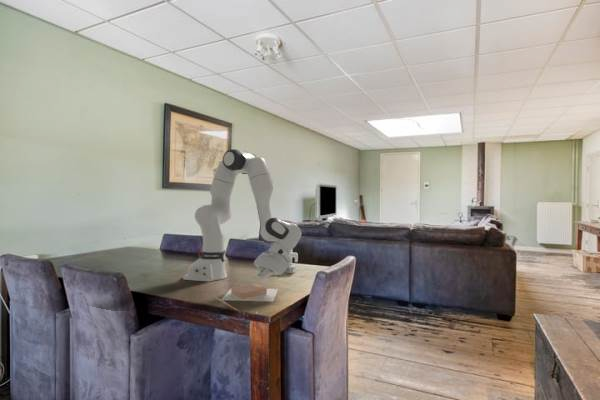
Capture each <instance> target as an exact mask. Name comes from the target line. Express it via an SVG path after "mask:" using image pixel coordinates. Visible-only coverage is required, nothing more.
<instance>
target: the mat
mask: <svg viewBox="0 0 600 400" xmlns="http://www.w3.org/2000/svg"><path fill="white" fill-rule="evenodd" d="M278 290H279V288H267V295H265V296H260V297H256V298H251V299H246V300H241V299H239V298H237V297H235V296H233V295H231V288H230V289H228V291H227V292H226V293H225V295H224V296H222V298H221V299H220V302H226V301H237V302H238V301H241V302H243V301H244V302H245V301H246V302H247V301H248V302H274V301H275V298H276V295H277V293H278Z"/></svg>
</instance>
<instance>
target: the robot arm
mask: <svg viewBox="0 0 600 400" xmlns="http://www.w3.org/2000/svg"><path fill="white" fill-rule="evenodd" d="M239 174H242V175H247V176H248V181H249V184H250V188H251V191H252V194H253V197H254V201H255V205H256V209H257V214H258V219H259V220H258V221H259V232H258V235H259V238H260V240H261V241H262V242H263V243H265V244H270V245H271V244H272V245H271V246H270V248H269V249H268V250H266V251H262V253H260V254H259V255H258V256H257V258H255V259H254V261H253V264H254V266H255V267H256V268H257V269H259V273H258V274H257V275H256V276H257V277H258V279H260V280H261V279H262V280H263V279H265V277H266V276H268V275H269V274H270V273H272V274H276V275H278V276H281V275H283V274H284V273H285V272H284V271H285V270H286V269H287V267H288V265H289V263H291V262H292V263H293V258H292V259H291V258H290V256H289V254H290V251H291V250H293V249H294V248H295V247H296V246H297V244H298V243H299V241H300V240H301V238H302V229H301V228H300V227H299V226H298V225H297V224H296V223H292V222H291V223H290V222H286V221H284V220H282V219H280V218H279V217H278V218H277V217H272V212H271V208H270V202H271V201H270V200H271V196H272V193H273V190H274V184H273V182H274V181H273V177H272V174H271V171H270V168H269V165H268V163H267V162H266V159H265V158H263V157H261V156H256V155H255V154H254V153H253V154H252V153H250V152H248V151H245V150H244V151H243V150H239V149H234V148H232V149H228V150H226V151H225V152H224V154H223V156H222V159H221V161H220V162H219V164H218V166H217V167H216V169H215V171H214V176H213V179H212V182H211V186H210V188H209V193H210V195H211V202H210V204H205V205H202V206H200V207H198V208H197V209H196V210H195V214H194V220H195V221H196V223H197V224H198V225H199V227H200V231H201V234H202V250H201V251H200V252H199V253H198V256H199V257H198V259H196V260H195V261H194V262H192V263H191V264H190V265H189V266H188V269H187V273H186V274H184V275H183V277H182V279H183V281H184V280H186V281H187V280H188V281H196V282H197V281H199V282H212V281H218V280H223V279H226V278H227V277H228V274H227V270H226V262H225V261H226V250H225V235H224V234H223V232H222V229H221V225H223V224H225V223H227V222H228V221H229V220H230V219H231V218H232V210H231V196H232V193H233V189H234V185H235V183H236V179H237V176H238V175H239Z"/></svg>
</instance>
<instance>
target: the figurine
mask: <svg viewBox="0 0 600 400" xmlns="http://www.w3.org/2000/svg"><path fill="white" fill-rule="evenodd" d="M289 256H290V258H291V259H292V260H293V258H294V262H295V263H298V262H299V260H298V259H299V255H298V253H297V252H293V249H292V250H291V251H290V254H289ZM298 266H299V265H298V264H293V261H292V262H291V263H289V265H288V267H287V269H286V270H285V271H284V272H283V273H284V274H293V273H295V272H296V270H297V268H298Z"/></svg>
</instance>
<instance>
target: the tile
mask: <svg viewBox="0 0 600 400" xmlns="http://www.w3.org/2000/svg"><path fill="white" fill-rule="evenodd" d="M230 289H231V295H233V296H235V297H237V298H239V299H241V300H246V299H251V298H256V297H260V296H265V295H267V289H268V288H266V287H265V286H261V285H260V284H257V283H249V284H244V285H238V286H233V287H231V288H230Z"/></svg>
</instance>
